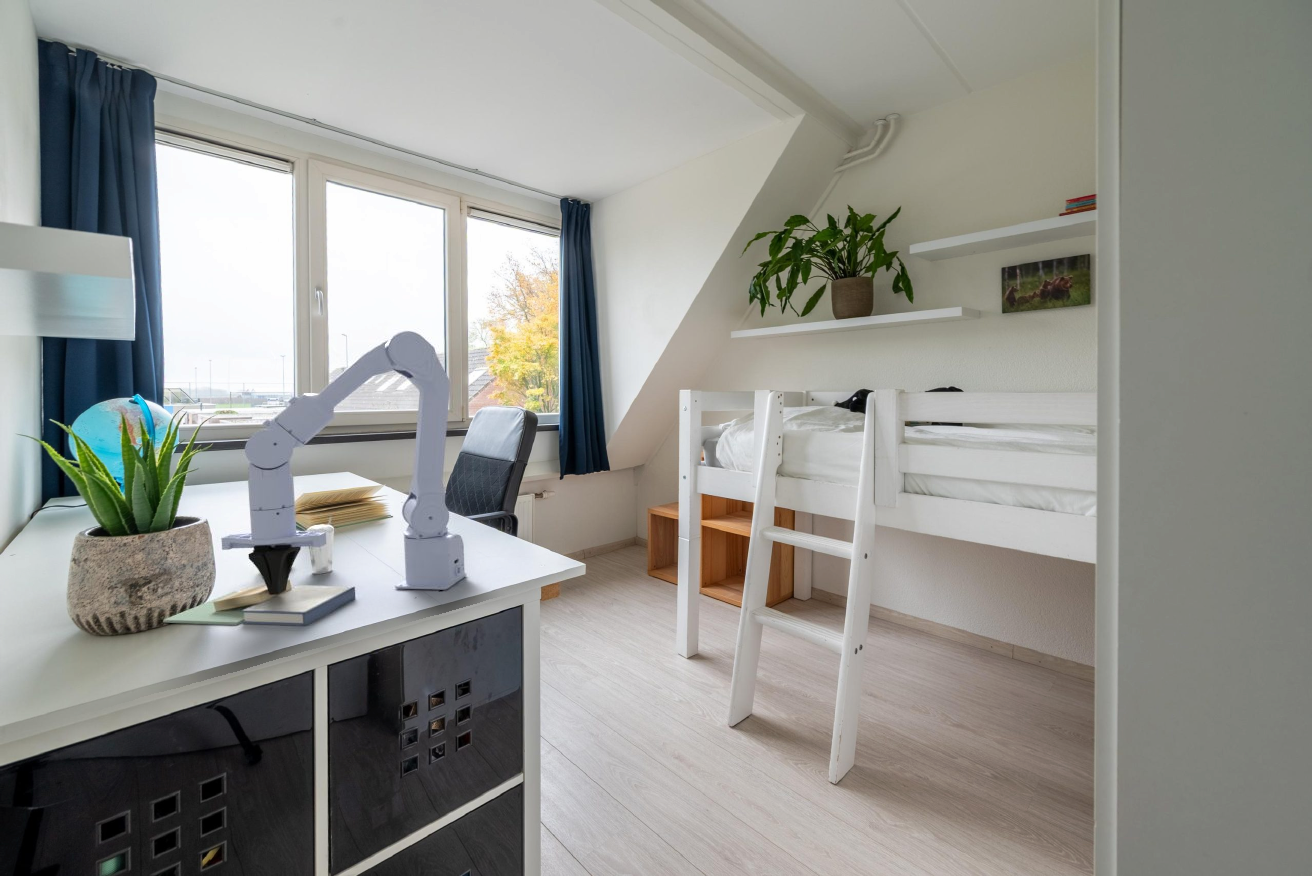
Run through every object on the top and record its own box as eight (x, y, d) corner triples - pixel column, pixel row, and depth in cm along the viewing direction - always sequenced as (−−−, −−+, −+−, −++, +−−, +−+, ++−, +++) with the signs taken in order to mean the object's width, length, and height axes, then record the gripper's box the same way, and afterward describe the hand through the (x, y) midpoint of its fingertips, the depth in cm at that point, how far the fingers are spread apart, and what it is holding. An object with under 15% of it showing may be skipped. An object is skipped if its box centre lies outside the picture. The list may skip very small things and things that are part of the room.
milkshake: (344, 566, 107) (341, 516, 106) (325, 575, 102) (322, 523, 101) (322, 566, 108) (320, 516, 107) (302, 575, 102) (299, 522, 101)
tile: (291, 588, 89) (289, 579, 88) (261, 602, 83) (258, 592, 83) (248, 597, 89) (246, 588, 89) (215, 611, 84) (213, 602, 83)
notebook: (355, 598, 90) (354, 586, 89) (305, 625, 79) (304, 612, 78) (299, 596, 91) (299, 585, 90) (242, 623, 80) (242, 610, 80)
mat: (299, 595, 91) (299, 593, 91) (236, 624, 79) (236, 622, 79) (234, 593, 92) (234, 591, 92) (163, 622, 81) (163, 619, 80)
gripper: (334, 501, 88) (338, 582, 89) (242, 503, 87) (247, 585, 88) (309, 509, 81) (314, 598, 82) (208, 512, 80) (214, 601, 81)
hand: (277, 592), depth 85 cm, fingers closed
